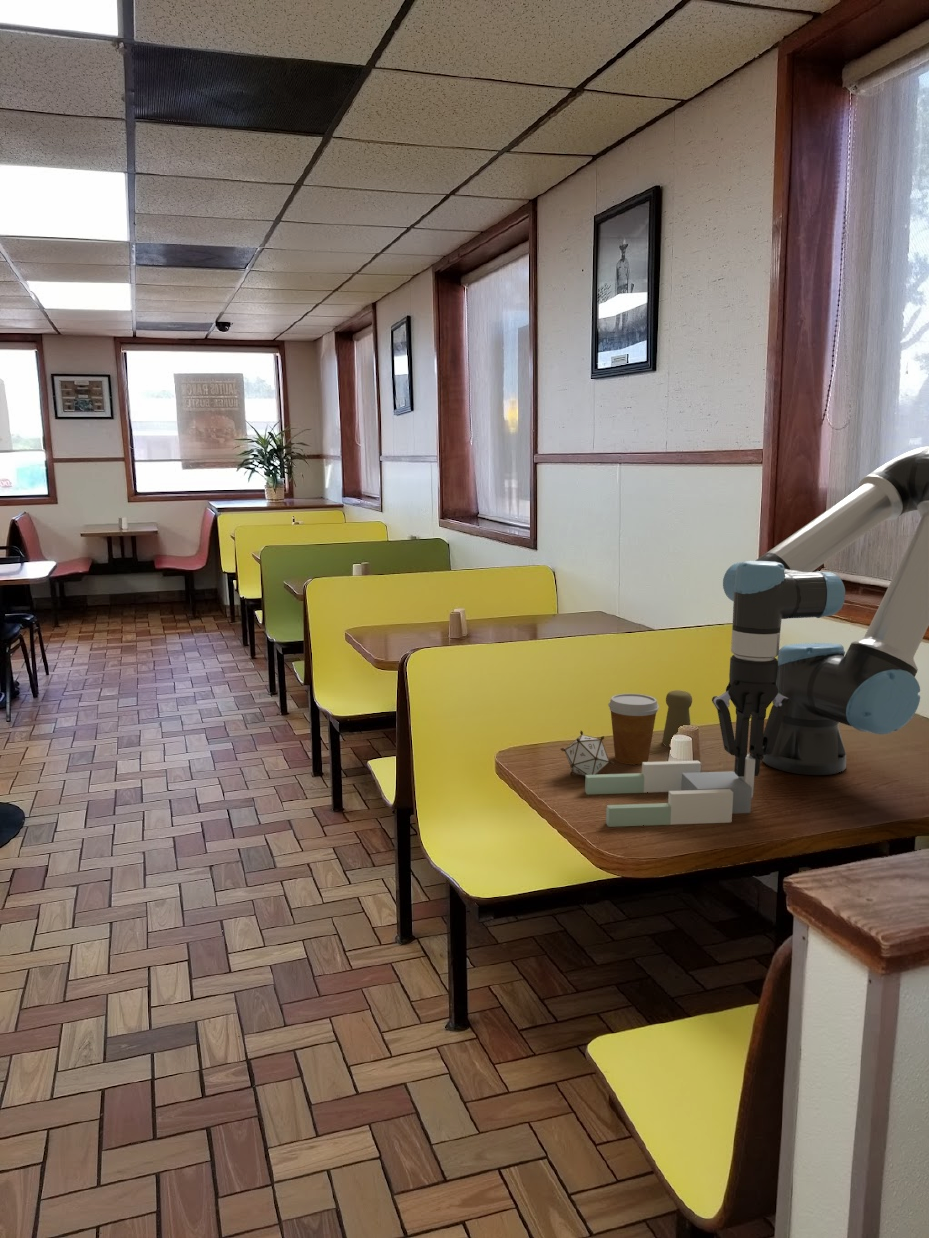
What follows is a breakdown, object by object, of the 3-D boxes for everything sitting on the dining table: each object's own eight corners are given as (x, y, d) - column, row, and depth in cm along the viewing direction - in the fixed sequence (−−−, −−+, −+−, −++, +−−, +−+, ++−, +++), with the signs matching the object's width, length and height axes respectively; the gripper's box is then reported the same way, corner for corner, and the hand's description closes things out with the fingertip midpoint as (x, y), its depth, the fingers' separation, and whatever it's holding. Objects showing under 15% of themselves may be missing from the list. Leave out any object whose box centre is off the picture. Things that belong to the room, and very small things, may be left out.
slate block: (731, 796, 160) (732, 771, 159) (750, 813, 152) (751, 787, 151) (680, 798, 159) (681, 772, 158) (696, 815, 151) (698, 789, 150)
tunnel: (696, 787, 164) (698, 760, 163) (731, 822, 148) (733, 792, 147) (584, 791, 162) (585, 763, 161) (608, 826, 146) (609, 796, 145)
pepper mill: (655, 744, 189) (658, 691, 187) (672, 738, 193) (674, 686, 192) (681, 750, 185) (684, 696, 183) (698, 744, 189) (700, 691, 187)
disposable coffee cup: (596, 758, 179) (598, 698, 178) (627, 749, 186) (629, 690, 184) (635, 771, 172) (638, 708, 170) (667, 760, 179) (669, 699, 177)
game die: (583, 800, 168) (563, 765, 162) (567, 770, 175) (547, 735, 169) (626, 776, 168) (608, 740, 162) (609, 747, 175) (590, 711, 169)
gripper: (782, 651, 157) (772, 785, 160) (707, 651, 155) (699, 787, 159) (803, 660, 149) (792, 801, 153) (724, 661, 148) (716, 803, 152)
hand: (745, 794), depth 156 cm, fingers closed
